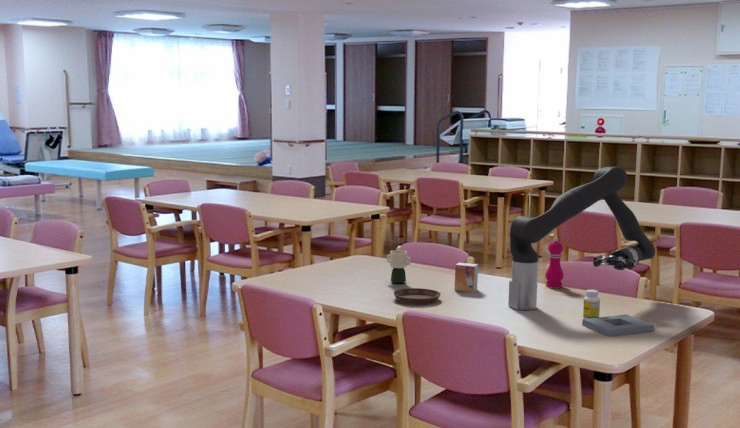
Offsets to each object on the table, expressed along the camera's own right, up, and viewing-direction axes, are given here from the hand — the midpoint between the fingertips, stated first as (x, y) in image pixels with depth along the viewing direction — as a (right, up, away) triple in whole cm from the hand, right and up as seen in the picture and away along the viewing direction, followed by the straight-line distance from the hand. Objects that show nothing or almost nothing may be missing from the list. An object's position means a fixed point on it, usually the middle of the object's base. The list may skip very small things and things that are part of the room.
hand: (606, 265), depth 290 cm
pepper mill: (-9, -11, +42) cm, 44 cm away
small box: (-46, -12, +34) cm, 58 cm away
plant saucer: (-66, -14, +17) cm, 70 cm away
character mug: (-72, -10, +46) cm, 86 cm away
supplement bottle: (-7, -18, -6) cm, 21 cm away
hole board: (-2, -20, -18) cm, 27 cm away
